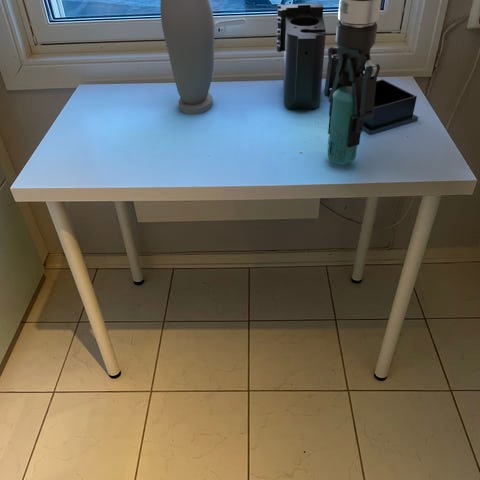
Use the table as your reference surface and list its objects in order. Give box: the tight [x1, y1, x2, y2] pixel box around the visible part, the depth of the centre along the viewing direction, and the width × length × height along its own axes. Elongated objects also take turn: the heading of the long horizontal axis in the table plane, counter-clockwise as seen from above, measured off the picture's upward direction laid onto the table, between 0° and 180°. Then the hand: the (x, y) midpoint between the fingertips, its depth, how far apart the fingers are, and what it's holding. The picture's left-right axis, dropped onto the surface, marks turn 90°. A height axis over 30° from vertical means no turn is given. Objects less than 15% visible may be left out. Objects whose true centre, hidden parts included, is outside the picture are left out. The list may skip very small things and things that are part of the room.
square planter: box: [362, 78, 419, 136], centre depth 132 cm, size 15×15×6 cm
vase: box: [159, 0, 215, 115], centre depth 130 cm, size 13×13×35 cm
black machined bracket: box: [276, 3, 327, 110], centre depth 136 cm, size 12×21×22 cm, turn 177°
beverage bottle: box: [326, 71, 361, 165], centre depth 111 cm, size 6×7×20 cm
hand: (343, 138), depth 114 cm, fingers closed on beverage bottle, 6 cm apart
